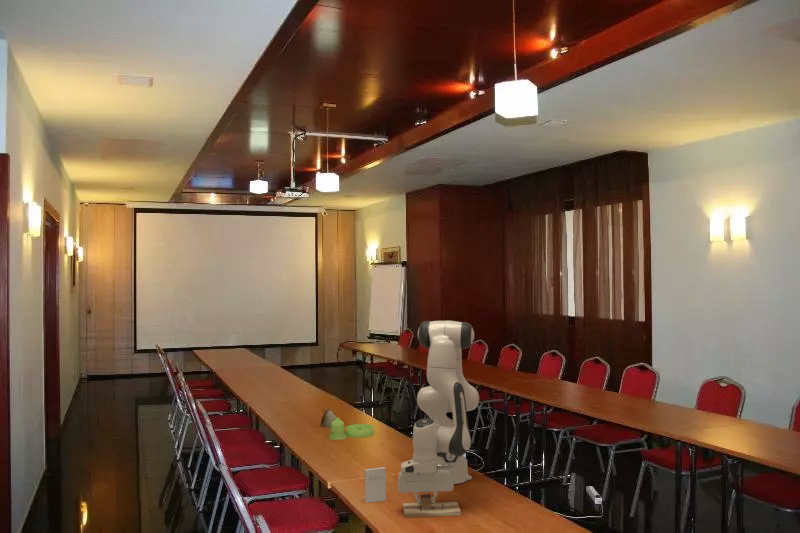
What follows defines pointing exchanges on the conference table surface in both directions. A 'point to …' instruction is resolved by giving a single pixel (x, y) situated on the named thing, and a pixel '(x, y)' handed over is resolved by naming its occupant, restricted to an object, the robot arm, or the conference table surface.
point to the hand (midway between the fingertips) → (425, 503)
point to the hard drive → (375, 484)
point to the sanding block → (425, 501)
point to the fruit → (327, 418)
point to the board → (432, 509)
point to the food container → (349, 430)
